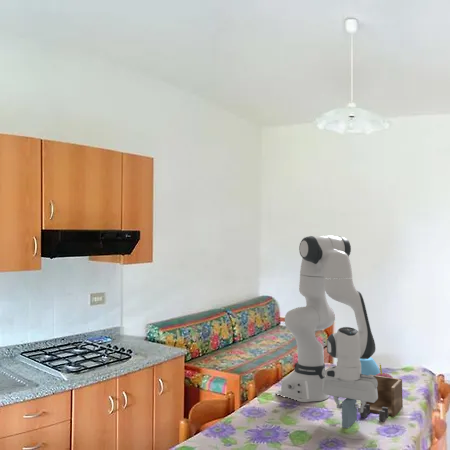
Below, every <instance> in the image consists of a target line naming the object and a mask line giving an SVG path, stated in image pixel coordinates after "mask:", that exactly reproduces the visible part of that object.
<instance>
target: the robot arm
mask: <svg viewBox="0 0 450 450" xmlns="http://www.w3.org/2000/svg"><path fill="white" fill-rule="evenodd" d="M298 250H299V255H300V257H301V258H302V259H301V264H300V271H299V283H298V284H299V285H298V286H299V287H298V292H299V293H300V294H301V296H303V297H304V299H305V303H306V306H301V307H300V306H299V307H294V308H292V309H290V310H288V311H287V312H286V313H285V315H284V324H285V327H286V329H287V330H288V331H289V332H290V333H291V334H292V336H293V337H294V339H295V343H296V346H297V361H296V362H294V364H293V365H292V368H293V369H294V370H293V371H292V372H291V373H289V374H288V375H287V376H285V377H284V378H283V379H282V381H281V386H280V388H278V389H277V390H276V392H275V394H276V393H277V394H279V395H282V396H285V397H288V398H287V399H289V398H291V399H290V400H292V399H294V400H293V401H296V400H297V402H300V403H309V402H322V401H324V400H327V399H328V398H329V397H331V396H332V397H333V400H334V402H335V404H336V409H338V410H342V402H341V401H340V399H339V398H344V399H346V398H348V399H354V400H357V401H360V406H359V407H358V408H357V413H360V414H361V413H363V407H364V406H365V404H366V402H372V403H374V402H376V401H377V399H378V392H377V386H378V382H377V379H376V378H375V377H373V376H371V375H370V376H369V375H364V374H361V362H360V358H362V359H368V358H370V357H371V358H372V356H373V355H374V354H375V352H376V350H377V349H376V342H375V339H374V338H375V337H374V335H373V332H372V329H371V326H370V321H369V316H368V312H367V308H366V303H365V299H364V297H363V295H362V293H361V292H360V291H359V290H357V288H356V287H355V285H354V282H353V272H352V264H351V261H350V255H351V252H352V247H351V244H350V241H349V239H348V238H346V237H344V236H339V235H338V236H334V235H310V236H304V237H303V238H302V239H301V241H300V242H299V249H298ZM326 295H327V296H328V297H329V298H331V299H332V300H334V301H336V302H338V303H340V304H341V303H342V304H343V305H346V306H348V307H350V309H352V311H353V313H354V316H355V320H356V325H357V329H356V328H354V327H349V326H343V327H340V328H338V329H337V332H334V333H331V334H329V336H328V337H327V338H326V351H327V354H329V356H330V357H332V358H334V359H337V360H336V361H337V362H336V365H334V366H330V367H328V368H326V364H325V356H324V353H325V351H324V346H323V344H322V342H320V341H318V339H317V337H316V332H317V331H322V330H326V329H328V328H329V327H331V326H333V325H334V324H335V320H336V317H335V312H334V310H333V308H332V307H330V305H329V303H328V301H327V300H328V299H327V296H326ZM373 378H374V379H373ZM285 397H284V398H285ZM361 404H362V406H361Z"/></svg>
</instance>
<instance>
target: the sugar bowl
mask: <svg viewBox="0 0 450 450" xmlns="http://www.w3.org/2000/svg"><path fill="white" fill-rule="evenodd" d="M374 359H375V358H373V357H372V356H371V357H370V358H368V359H362V358H360V362H361V374H364V375H376V374H379V373H381V372H380V367H379V365H378V364H377V362H376V361H375V360H374Z"/></svg>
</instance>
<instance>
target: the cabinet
mask: <svg viewBox="0 0 450 450" xmlns="http://www.w3.org/2000/svg"><path fill="white" fill-rule="evenodd" d="M369 376H370V375H369ZM371 376H373V377H375V378H376V379H377V382H378V386H377V392H378V399H377V401H376V402H374V403H372V402H366V404H365V406H364V407H363V413H360V417H361V418H367V417H368V416H367V415H370V414H371V413H375V414H378V419H379V422H380V421H381V422H385V421H386V419H388V418H389V416H391V417H393V418H395V417H396V416H397V415H398V413H399V412H400V411H401V410H402V408H403V379H402V378H395V377H393V378H390V377H383V376H376V375H371ZM373 379H374V378H373ZM360 406H362V404H361V403H360Z"/></svg>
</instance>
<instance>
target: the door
mask: <svg viewBox="0 0 450 450" xmlns="http://www.w3.org/2000/svg"><path fill="white" fill-rule="evenodd" d="M341 403H342V408H341V427H342V428H344V429H345V428H346V429H349V428H351V426H352V425H353V424H354V423H355V422H356V421H357V420H358V417H357V416H358V407H359V405H360V404H359V403H358V400H354V399H348V398H344V400H343V401H341Z"/></svg>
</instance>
